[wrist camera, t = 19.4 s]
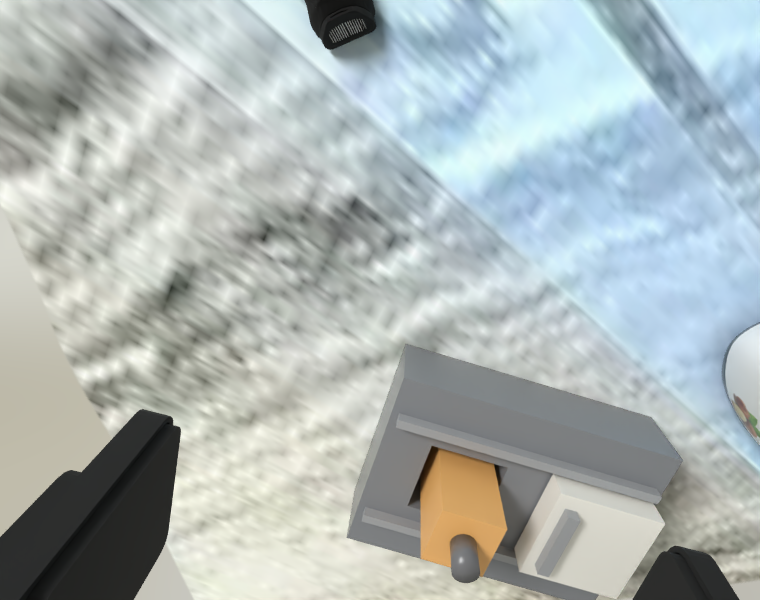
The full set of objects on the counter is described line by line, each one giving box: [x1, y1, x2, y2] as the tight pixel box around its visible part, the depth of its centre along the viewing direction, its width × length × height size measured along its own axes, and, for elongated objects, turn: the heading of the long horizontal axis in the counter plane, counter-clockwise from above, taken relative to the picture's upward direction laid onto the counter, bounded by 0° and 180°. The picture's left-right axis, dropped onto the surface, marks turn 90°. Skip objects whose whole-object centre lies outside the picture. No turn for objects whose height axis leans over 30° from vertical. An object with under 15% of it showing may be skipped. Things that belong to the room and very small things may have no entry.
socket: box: [347, 344, 683, 600], centre depth 38 cm, size 19×14×6 cm
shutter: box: [514, 474, 665, 599], centre depth 35 cm, size 7×7×3 cm
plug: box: [420, 446, 507, 583], centre depth 35 cm, size 4×4×12 cm
